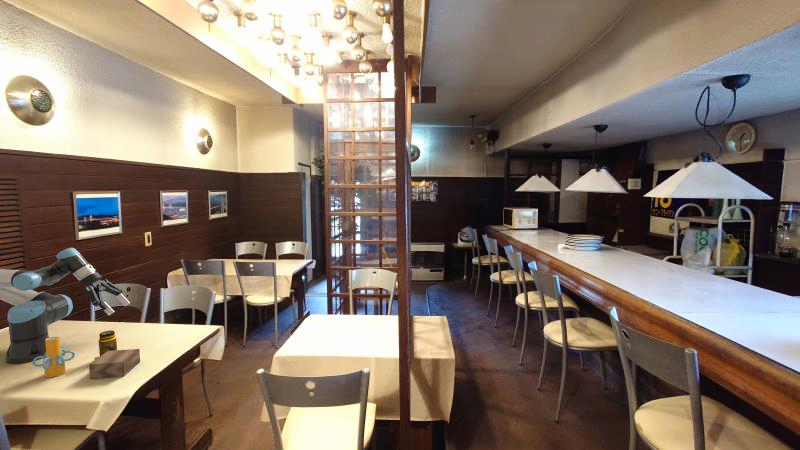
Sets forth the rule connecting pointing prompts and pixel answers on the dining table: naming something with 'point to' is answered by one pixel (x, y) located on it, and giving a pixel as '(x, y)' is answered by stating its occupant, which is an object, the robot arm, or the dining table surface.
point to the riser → (114, 363)
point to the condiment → (107, 342)
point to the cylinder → (53, 358)
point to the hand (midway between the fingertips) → (120, 309)
